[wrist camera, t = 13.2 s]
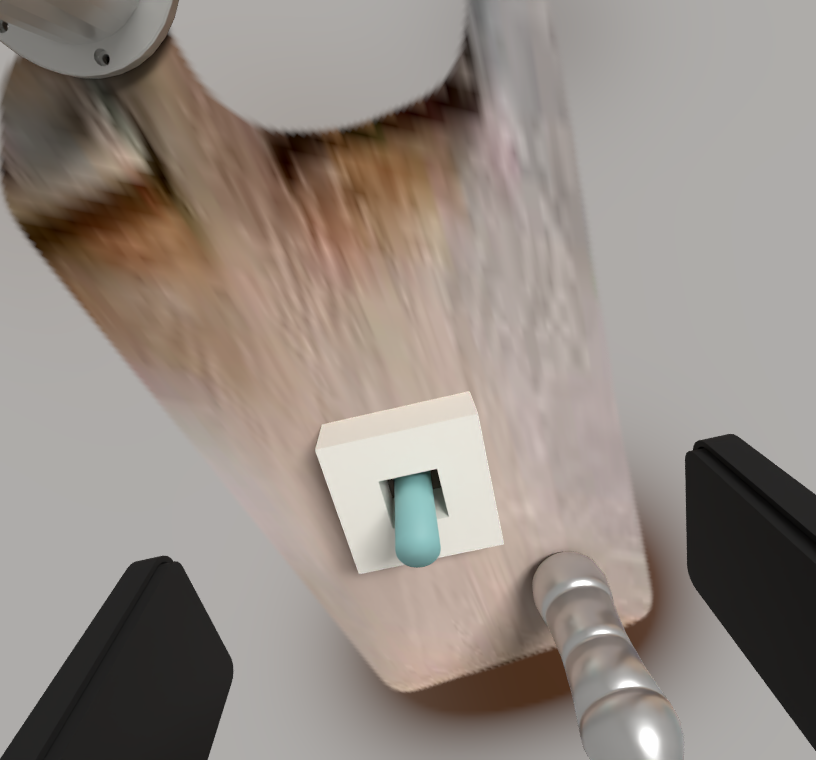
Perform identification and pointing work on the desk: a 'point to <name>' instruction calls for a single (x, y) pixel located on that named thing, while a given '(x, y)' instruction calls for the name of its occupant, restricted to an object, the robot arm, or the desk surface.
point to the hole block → (404, 455)
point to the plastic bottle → (603, 665)
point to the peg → (416, 520)
